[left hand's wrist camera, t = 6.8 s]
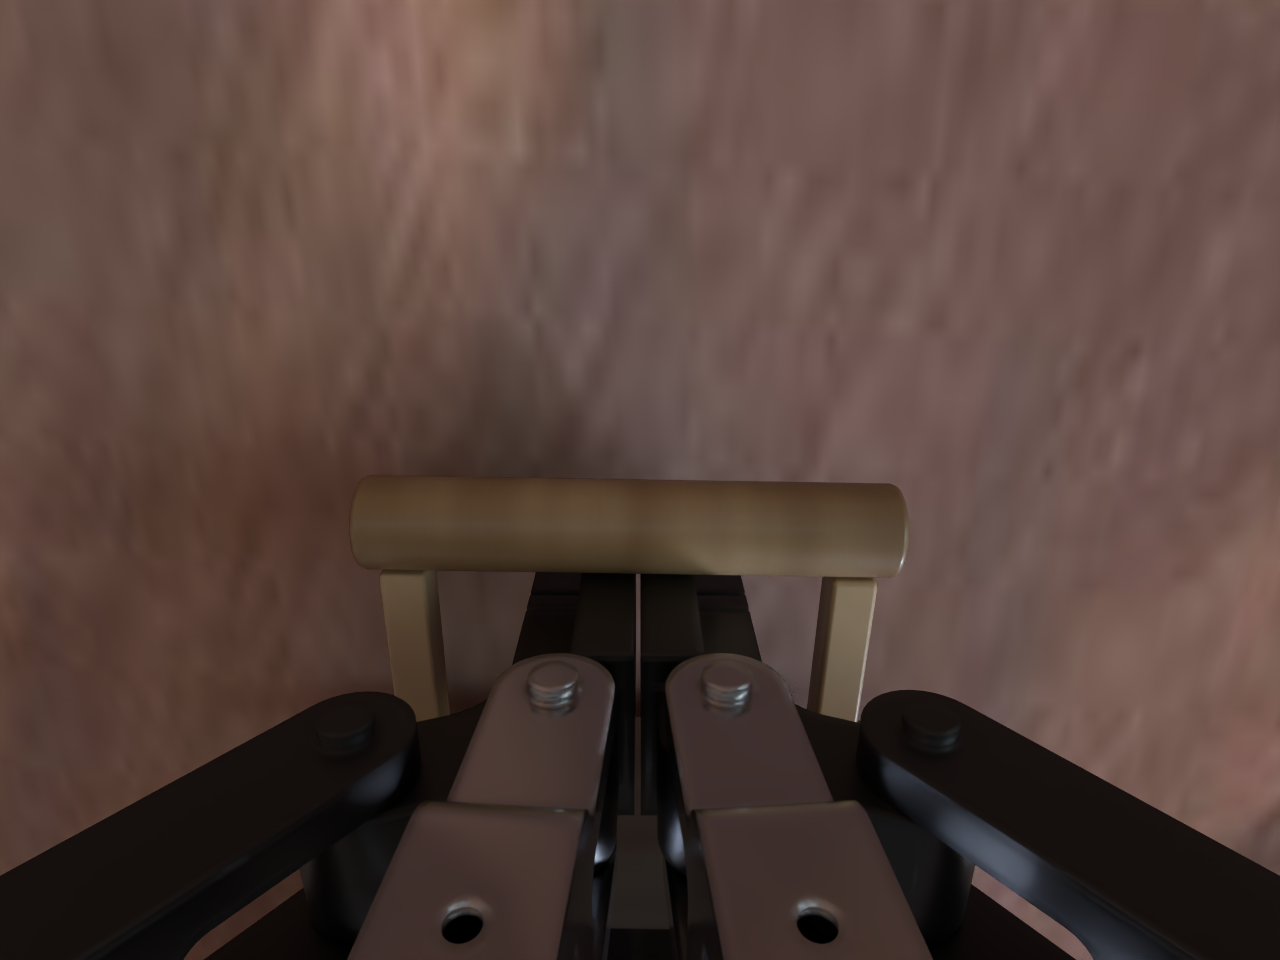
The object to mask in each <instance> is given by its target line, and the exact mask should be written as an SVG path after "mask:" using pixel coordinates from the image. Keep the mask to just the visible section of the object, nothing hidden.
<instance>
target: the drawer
mask: <svg viewBox="0 0 1280 960" xmlns="http://www.w3.org/2000/svg"><path fill="white" fill-rule="evenodd" d="M349 535H350V543H351V549H352V553H353V556H354V558H355V560H356V562H357V564H358V565H359V566H361V567H363V568H365V569H375V570H382V572H381V574H380V576H379V579H380V587H381V595H382V602H383V610H384V618H385V626H386V634H387V642H388V650H389V658H390V666H391V673H392V681H393V689H394V696H396V697H398V698H400V699H402V700H404V701H405V702H407V703H408V704H409V705H410V706H411V708H412V709H413V711H414V713H415V716H416V722H419V721H423V720H428V719H432V718H437V717H442V716H446V715H450V710H449V699H448V689H447V678H446V668H445V657H444V646H443V636H442V625H441V615H440V604H439V594H438V583H437V573H436V570H437V571H500V572H562V573H624V574H686V575H749V576H811V577H823V578H822V586H821V595H820V603H819V611H818V620H817V628H816V637H815V645H814V654H813V662H812V671H811V679H810V687H809V696H808V704H807V710H810V711H812V712H815V713H819V714H823V715H827V716H831V717H836V718H840V719H845V720H850V721H854V722H859V723H860V721H859V720H858V714H859V707H860V700H861V694H862V687H863V680H864V674H865V667H866V660H867V654H868V647H869V640H870V633H871V627H872V620H873V613H874V607H875V600H876V593H877V587H878V585H877V582H876V580H875V578H890V577H893V576H896V575H897V574H899V573H900V571H901V570H902V568H903V565H904V562H905V559H906V555H907V550H908V542H909V521H908V513H907V508H906V504H905V500H904V497H903V495H902V492H901V491H900V489H899V488H898V487H896V486H894V485H892V484H882V483H821V482H759V481H697V480H635V479H573V478H511V477H450V476H388V475H370V476H367V477H365V478H363V479H362V480H361V481H360V482H359V483H358V485H357V487H356V490H355V492H354V495H353V499H352V503H351V509H350V517H349ZM303 888H304V887H303ZM607 960H673V953H672V945H671V937H670V929H669V920H668V912H667V904H666V896H665V887H664V879H663V854H662V852H661V850H660V847H659V843H658V832H657V815H641V717H635V794H634V815H618V819H617V880H616V888H615V896H614V905H613V913H612V921H611V929H610V938H609V946H608V954H607Z"/></svg>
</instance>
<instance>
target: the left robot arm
mask: <svg viewBox="0 0 1280 960" xmlns="http://www.w3.org/2000/svg"><path fill="white" fill-rule="evenodd" d="M635 683H636V574H624V573H562V572H536V574H535V578H534V582H533V586H532V590H531V595H530V598H529V602H528V606H527V611H526V613H525V617H524V621H523V625H522V629H521V633H520V637H519V641H518V645H517V648H516V652H515V656H514V660H513V664H512V666H510V667H509V668H507V669H506V670H505V671H504V672H503V673H501V675H500V676H499V677H498V678H497V679H496V681H495V683H494V685H493V687H492V689H491V692H490V694H489V697H488V699H487V700H485V701H484V702H482V703H480V704H478V705H476V706H474V707H472V708H469V709H467V710H464V711H461V712H458V713H454V714H450V715H446V716H442V717H437V718H432V719H428V720H423V721H419V722H416V716H415V713H414V711H413V709H412V708H411V706H410V705H409V704H408V703H407V702H405V701H404V700H402V699H400V698H398V697H396V696H394V695H390V694H387V693H381V692H355V693H349V694H344V695H340V696H336V697H333V698H330V699H327V700H324V701H322V702H320V703H318V704H315V705H313V706H311V707H309V708H308V709H306V710H304V711H302V712H300V713H298V714H297V715H295V716H293V717H291V718H289V719H287V720H286V721H284V722H282V723H280V724H278V725H276V726H275V727H273V728H271V729H269V730H267V731H265V732H264V733H262V734H260V735H258V736H256V737H254V738H252V739H251V740H249V741H247V742H245V743H243V744H241V745H240V746H238V747H236V748H234V749H232V750H230V751H229V752H227V753H225V754H223V755H221V756H219V757H218V758H216V759H214V760H212V761H210V762H208V763H207V764H205V765H203V766H201V767H199V768H197V769H196V770H194V771H192V772H190V773H188V774H186V775H185V776H183V777H181V778H179V779H177V780H175V781H174V782H172V783H170V784H168V785H166V786H164V787H163V788H161V789H159V790H157V791H155V792H153V793H151V794H150V795H148V796H146V797H144V798H142V799H140V800H139V801H137V802H135V803H133V804H131V805H129V806H128V807H126V808H124V809H122V810H120V811H118V812H117V813H115V814H113V815H111V816H109V817H107V818H106V819H104V820H102V821H100V822H98V823H96V824H95V825H93V826H91V827H89V828H87V829H85V830H84V831H82V832H80V833H78V834H76V835H74V836H73V837H71V838H69V839H67V840H65V841H63V842H61V843H60V844H58V845H56V846H54V847H52V848H50V849H49V850H47V851H45V852H43V853H41V854H39V855H38V856H36V857H34V858H32V859H30V860H28V861H27V862H25V863H23V864H21V865H19V866H17V867H16V868H14V869H12V870H10V871H8V872H6V873H5V874H3V875H1V876H0V960H183V959H184V958H185V956H186V955H187V953H188V952H189V951H190V949H191V948H192V947H193V946H194V945H195V944H196V943H197V942H198V941H199V940H200V939H201V938H202V937H203V936H204V935H205V934H207V933H208V932H209V931H211V930H212V929H213V928H215V927H216V926H218V925H219V924H221V923H222V922H223V921H225V920H226V919H228V918H229V917H231V916H232V915H233V914H235V913H236V912H238V911H239V910H241V909H242V908H243V907H245V906H246V905H248V904H249V903H251V902H252V901H253V900H255V899H256V898H258V897H259V896H261V895H262V894H263V893H265V892H266V891H268V890H269V889H271V888H272V887H273V886H275V885H276V884H278V883H279V882H281V881H282V880H283V879H285V878H286V877H288V876H289V875H291V874H292V873H293V872H295V871H296V870H298V869H299V868H300V873H301V877H302V882H303V887H304V888H303V889H301V890H300V891H298V892H297V893H296V894H294V895H293V896H292V897H290V898H289V899H287V900H286V901H285V902H283V903H282V904H280V905H279V906H278V907H276V908H275V909H274V910H272V911H271V912H269V913H268V914H267V915H265V916H264V917H262V918H261V919H260V920H258V921H257V922H255V923H254V924H253V925H251V926H250V927H249V928H247V929H246V930H244V931H243V932H242V933H240V934H239V935H237V936H236V937H235V938H233V939H232V940H231V941H229V942H228V943H226V944H225V945H224V946H222V947H221V948H219V949H218V950H217V951H215V952H214V953H213V954H211V955H210V956H208V957H207V958H206V959H204V960H607V954H608V946H609V938H610V929H611V921H612V913H613V905H614V896H615V888H616V880H617V819H618V815H634V794H635ZM641 815H657V832H658V843H659V847H660V850H661V852H662V854H663V879H664V887H665V896H666V904H667V912H668V920H669V929H670V937H671V945H672V953H673V960H1076V959H1074V958H1073V957H1072V956H1070V955H1069V954H1067V953H1066V952H1065V951H1063V950H1062V949H1060V948H1059V947H1058V946H1056V945H1055V944H1054V943H1052V942H1051V941H1049V940H1048V939H1047V938H1045V937H1044V936H1042V935H1041V934H1040V933H1038V932H1037V931H1036V930H1034V929H1033V928H1031V927H1030V926H1029V925H1027V924H1026V923H1024V922H1023V921H1022V920H1020V919H1019V918H1018V917H1016V916H1015V915H1013V914H1012V913H1011V912H1009V911H1008V910H1006V909H1005V908H1004V907H1002V906H1001V905H1000V904H998V903H997V902H995V901H994V900H993V899H991V898H990V897H988V896H987V895H986V894H984V893H983V892H982V891H980V890H979V889H977V888H976V887H975V886H973V885H972V884H971V882H972V877H973V873H974V868H975V865H977V866H978V867H979V868H981V869H982V870H984V871H985V872H987V873H988V874H989V875H991V876H992V877H994V878H995V879H997V880H998V881H999V882H1001V883H1002V884H1004V885H1005V886H1007V887H1008V888H1009V889H1011V890H1012V891H1014V892H1015V893H1017V894H1018V895H1019V896H1021V897H1022V898H1024V899H1025V900H1027V901H1028V902H1029V903H1031V904H1032V905H1034V906H1035V907H1037V908H1038V909H1039V910H1041V911H1042V912H1044V913H1045V914H1047V915H1048V916H1049V917H1051V918H1052V919H1054V920H1055V921H1057V922H1058V923H1059V924H1061V925H1062V926H1064V927H1065V928H1066V929H1068V930H1069V931H1070V932H1072V933H1073V934H1074V935H1075V936H1076V937H1077V938H1078V939H1079V940H1080V941H1081V942H1082V944H1083V945H1084V946H1085V947H1086V948H1087V950H1088V951H1089V953H1090V954H1091V956H1092V957H1093V959H1094V960H1280V876H1279V875H1277V874H1275V873H1274V872H1272V871H1270V870H1268V869H1266V868H1264V867H1263V866H1261V865H1259V864H1257V863H1255V862H1253V861H1252V860H1250V859H1248V858H1246V857H1244V856H1242V855H1241V854H1239V853H1237V852H1235V851H1233V850H1231V849H1230V848H1228V847H1226V846H1224V845H1222V844H1220V843H1218V842H1217V841H1215V840H1213V839H1211V838H1209V837H1207V836H1206V835H1204V834H1202V833H1200V832H1198V831H1196V830H1195V829H1193V828H1191V827H1189V826H1187V825H1185V824H1184V823H1182V822H1180V821H1178V820H1176V819H1174V818H1173V817H1171V816H1169V815H1167V814H1165V813H1163V812H1162V811H1160V810H1158V809H1156V808H1154V807H1152V806H1151V805H1149V804H1147V803H1145V802H1143V801H1141V800H1140V799H1138V798H1136V797H1134V796H1132V795H1130V794H1128V793H1127V792H1125V791H1123V790H1121V789H1119V788H1117V787H1116V786H1114V785H1112V784H1110V783H1108V782H1106V781H1105V780H1103V779H1101V778H1099V777H1097V776H1095V775H1094V774H1092V773H1090V772H1088V771H1086V770H1084V769H1083V768H1081V767H1079V766H1077V765H1075V764H1073V763H1072V762H1070V761H1068V760H1066V759H1064V758H1062V757H1061V756H1059V755H1057V754H1055V753H1053V752H1051V751H1050V750H1048V749H1046V748H1044V747H1042V746H1040V745H1038V744H1037V743H1035V742H1033V741H1031V740H1029V739H1027V738H1026V737H1024V736H1022V735H1020V734H1018V733H1016V732H1015V731H1013V730H1011V729H1009V728H1007V727H1005V726H1004V725H1002V724H1000V723H998V722H996V721H994V720H993V719H991V718H989V717H987V716H985V715H983V714H982V713H980V712H978V711H976V710H974V709H972V708H971V707H969V706H967V705H965V704H963V703H961V702H959V701H957V700H954V699H952V698H949V697H946V696H943V695H940V694H936V693H932V692H926V691H918V690H899V691H892V692H888V693H884V694H881V695H879V696H877V697H875V698H873V699H872V700H871V701H870V702H868V703H867V705H866V706H865V707H864V709H863V712H862V714H861V721H860V723H859V722H854V721H850V720H845V719H840V718H836V717H831V716H827V715H823V714H819V713H815V712H812V711H810V710H807V709H804V708H802V707H800V706H798V705H796V704H794V702H793V699H792V697H791V694H790V692H789V689H788V687H787V685H786V683H785V681H784V679H783V678H782V677H781V676H780V675H779V673H778V672H776V671H775V670H774V669H773V668H771V667H770V666H768V665H766V664H765V663H763V662H762V661H761V656H760V652H759V648H758V644H757V640H756V636H755V632H754V628H753V624H752V620H751V616H750V612H749V611H748V604H747V600H746V595H745V591H744V587H743V583H742V579H741V575H686V574H641Z"/></svg>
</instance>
